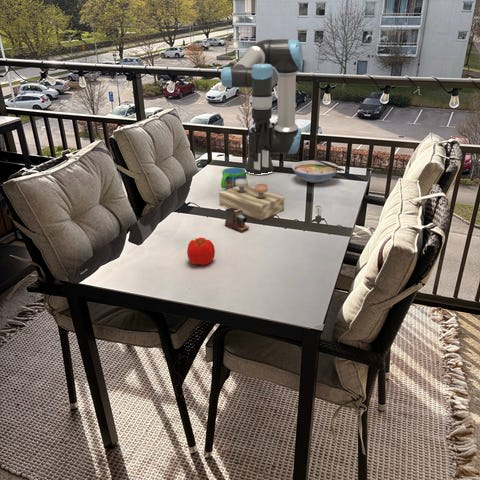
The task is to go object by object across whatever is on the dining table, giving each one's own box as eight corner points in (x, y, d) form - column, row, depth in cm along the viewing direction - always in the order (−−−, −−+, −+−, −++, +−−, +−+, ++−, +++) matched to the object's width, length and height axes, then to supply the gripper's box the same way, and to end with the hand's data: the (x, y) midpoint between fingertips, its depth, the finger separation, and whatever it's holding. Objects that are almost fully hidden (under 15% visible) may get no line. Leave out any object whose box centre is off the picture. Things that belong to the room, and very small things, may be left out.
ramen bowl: (281, 177, 234) (282, 161, 230) (319, 171, 242) (320, 156, 239) (308, 192, 213) (309, 175, 210) (348, 185, 222) (350, 168, 218)
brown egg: (260, 198, 193) (260, 183, 191) (269, 200, 190) (270, 185, 187) (252, 201, 190) (252, 186, 187) (261, 204, 187) (261, 189, 184)
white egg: (241, 192, 200) (241, 177, 198) (250, 194, 197) (250, 180, 194) (233, 195, 197) (232, 180, 194) (241, 197, 194) (241, 183, 191)
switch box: (242, 197, 208) (242, 184, 205) (283, 210, 192) (284, 197, 190) (219, 205, 199) (219, 192, 196) (261, 220, 183) (261, 206, 181)
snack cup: (238, 185, 223) (238, 164, 219) (254, 190, 216) (254, 169, 212) (214, 193, 213) (213, 171, 209) (229, 198, 206) (229, 176, 202)
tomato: (200, 253, 158) (199, 233, 154) (220, 260, 153) (219, 240, 149) (181, 263, 151) (179, 242, 148) (200, 271, 146) (199, 250, 143)
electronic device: (241, 233, 172) (241, 214, 169) (224, 226, 179) (223, 208, 175) (250, 230, 175) (249, 211, 172) (232, 223, 181) (232, 205, 178)
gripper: (269, 104, 182) (268, 161, 192) (238, 109, 171) (239, 170, 181) (283, 106, 177) (282, 165, 187) (253, 111, 166) (253, 174, 176)
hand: (261, 167), depth 184 cm, fingers open, 4 cm apart
